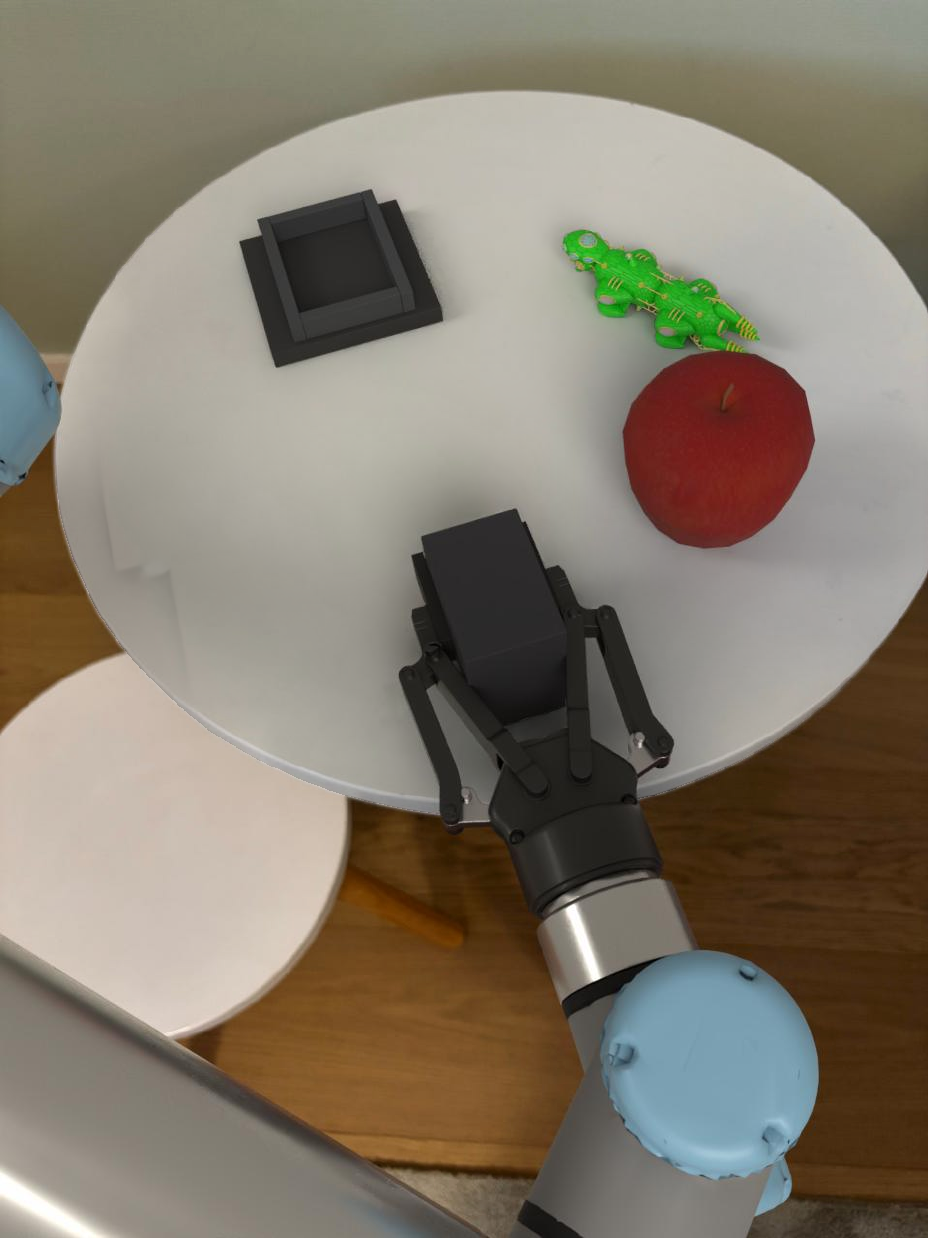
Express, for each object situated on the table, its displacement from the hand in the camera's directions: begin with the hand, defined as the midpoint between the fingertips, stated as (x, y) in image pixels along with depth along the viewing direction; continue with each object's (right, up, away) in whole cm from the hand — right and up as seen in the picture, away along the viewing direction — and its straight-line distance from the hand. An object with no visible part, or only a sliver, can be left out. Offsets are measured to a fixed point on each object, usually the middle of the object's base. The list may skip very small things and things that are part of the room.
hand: (470, 550), depth 65 cm
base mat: (-11, +24, +21) cm, 33 cm away
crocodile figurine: (+15, +20, +17) cm, 30 cm away
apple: (+16, +3, +7) cm, 18 cm away
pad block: (+2, -7, +3) cm, 8 cm away
